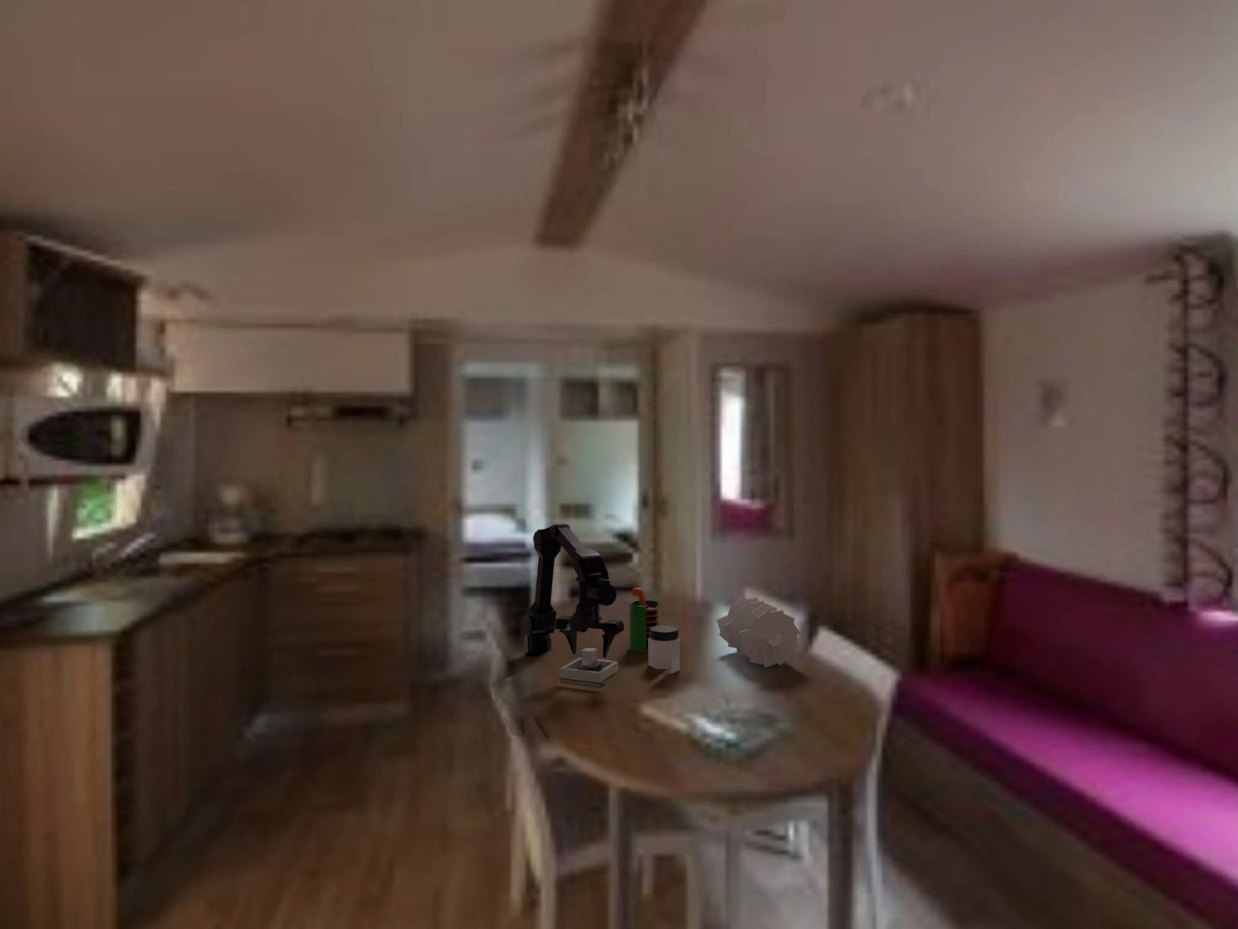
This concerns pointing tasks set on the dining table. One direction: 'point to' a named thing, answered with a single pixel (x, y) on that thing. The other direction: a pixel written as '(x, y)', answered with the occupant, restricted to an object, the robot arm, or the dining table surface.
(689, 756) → the dining table surface
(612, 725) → the dining table surface
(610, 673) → the bin
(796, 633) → the spiral staircase
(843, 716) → the dining table surface
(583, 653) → the grey square peg
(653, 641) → the jar
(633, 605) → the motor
